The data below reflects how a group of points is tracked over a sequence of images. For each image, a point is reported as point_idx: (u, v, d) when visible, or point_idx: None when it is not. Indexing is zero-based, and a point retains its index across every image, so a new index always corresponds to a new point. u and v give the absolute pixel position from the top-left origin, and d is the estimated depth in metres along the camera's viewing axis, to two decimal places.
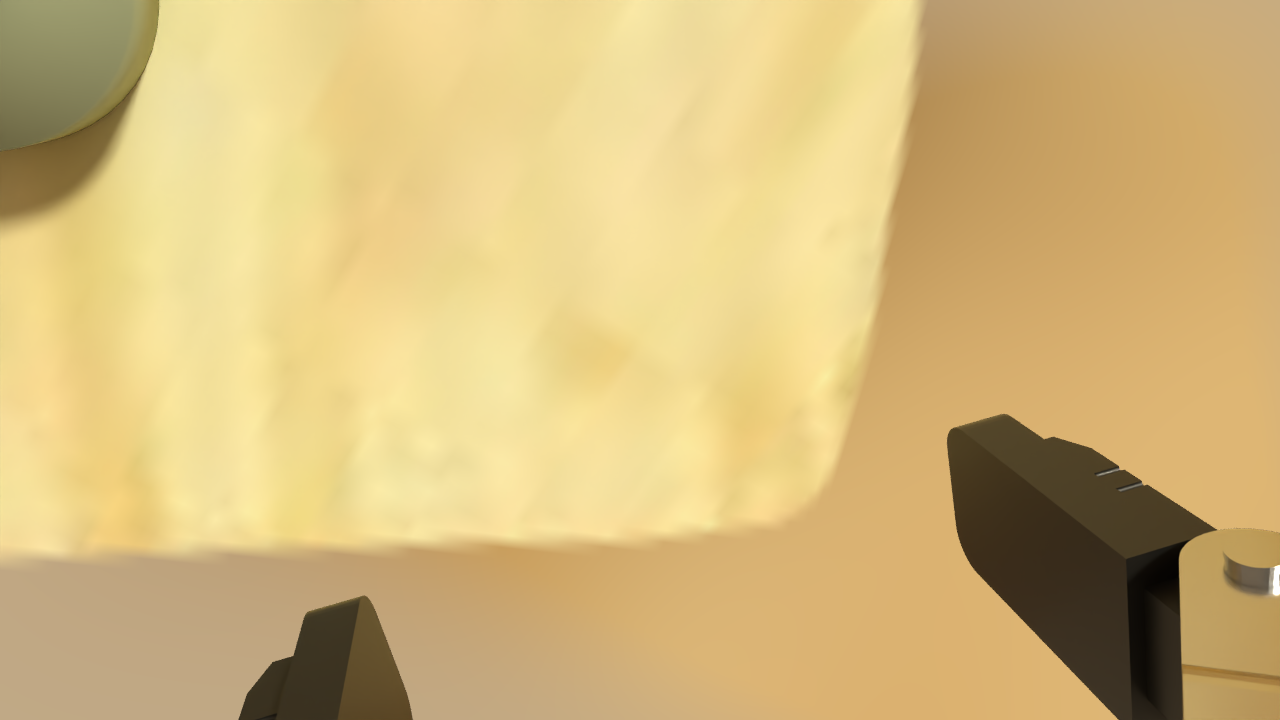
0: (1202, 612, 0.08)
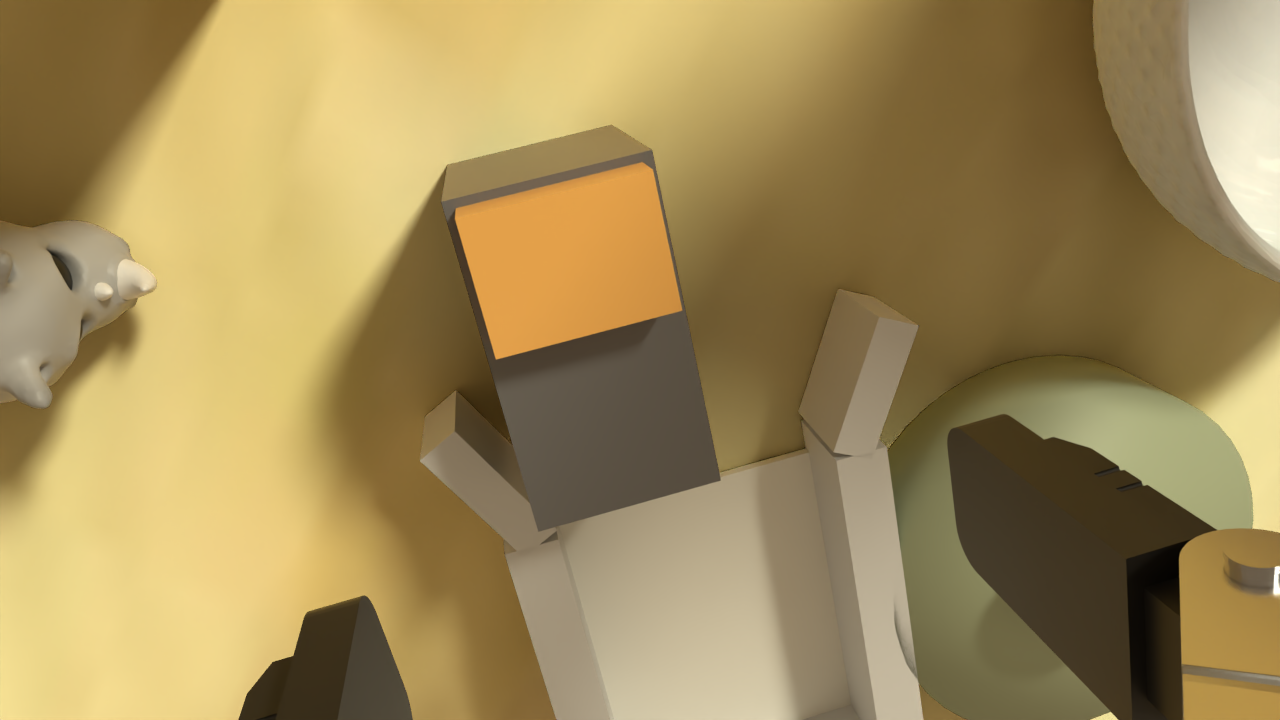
0: (1202, 612, 0.08)
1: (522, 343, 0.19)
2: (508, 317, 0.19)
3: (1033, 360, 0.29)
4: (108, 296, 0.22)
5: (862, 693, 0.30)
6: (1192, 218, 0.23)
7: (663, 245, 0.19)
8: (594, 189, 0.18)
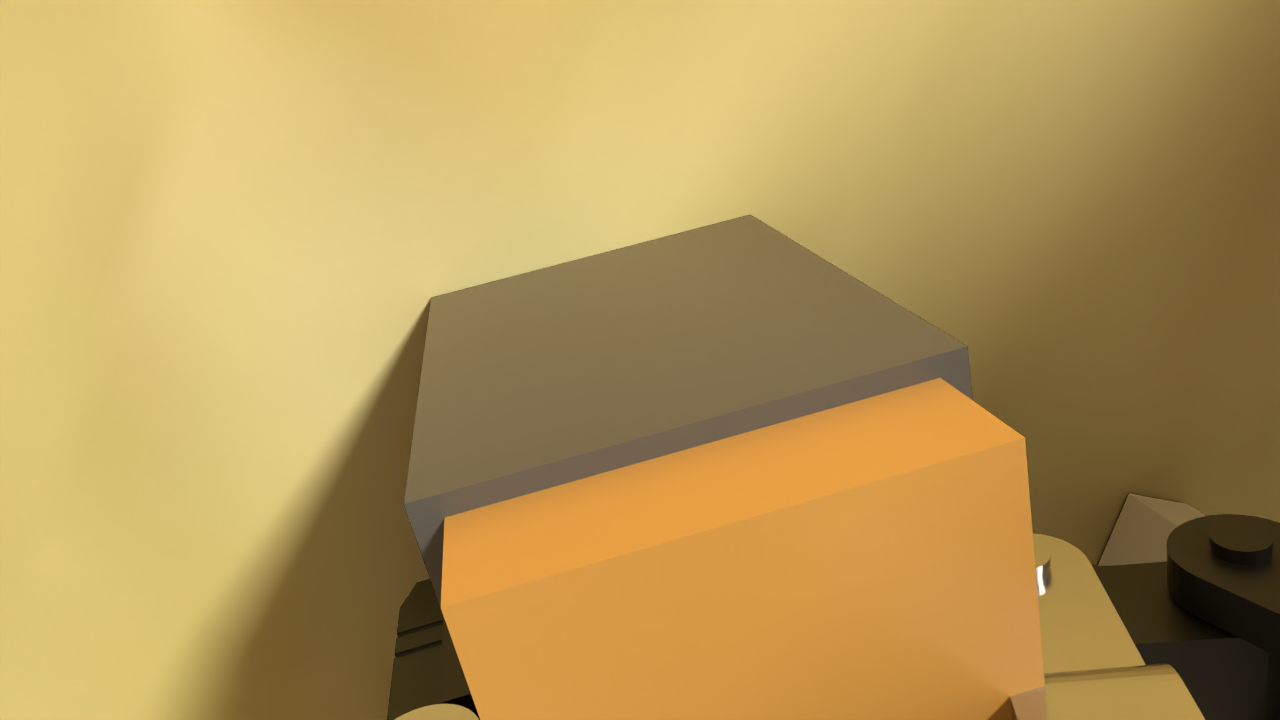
0: None
1: None
2: None
3: None
4: None
5: None
6: None
7: (1024, 626, 0.07)
8: (855, 501, 0.06)
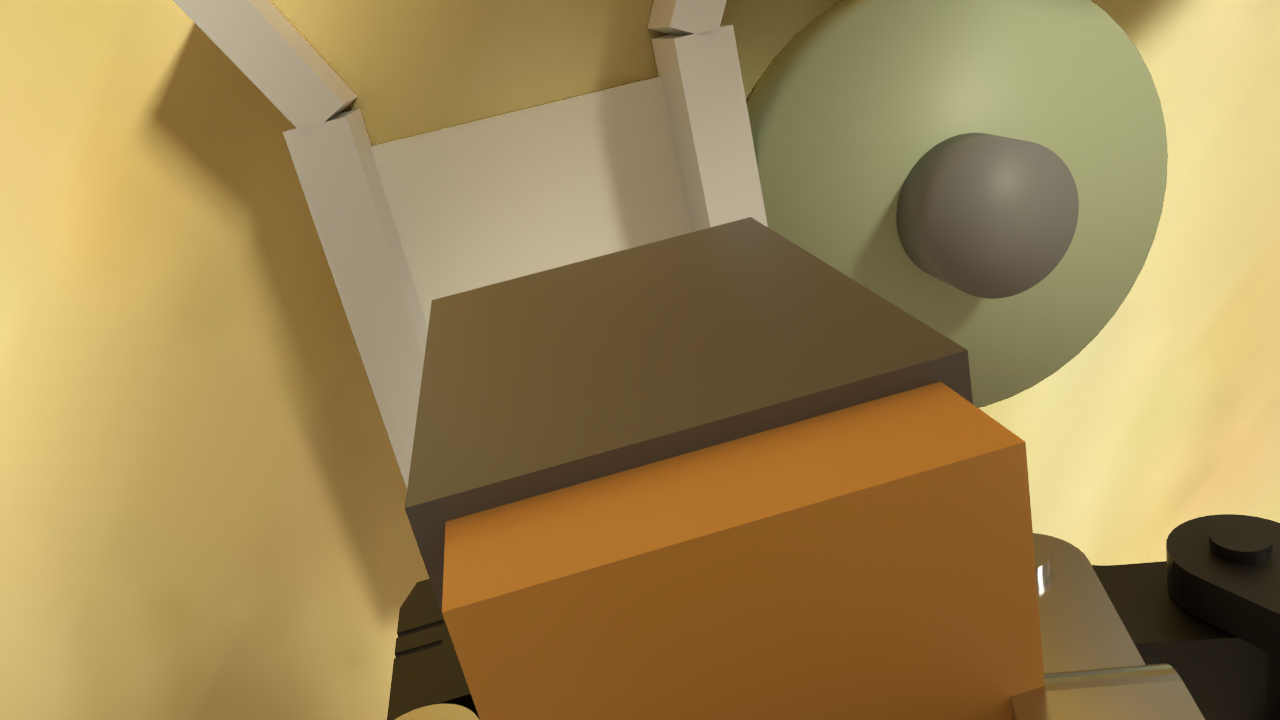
0: None
1: None
2: None
3: None
4: None
5: None
6: None
7: (1024, 630, 0.07)
8: (855, 506, 0.06)
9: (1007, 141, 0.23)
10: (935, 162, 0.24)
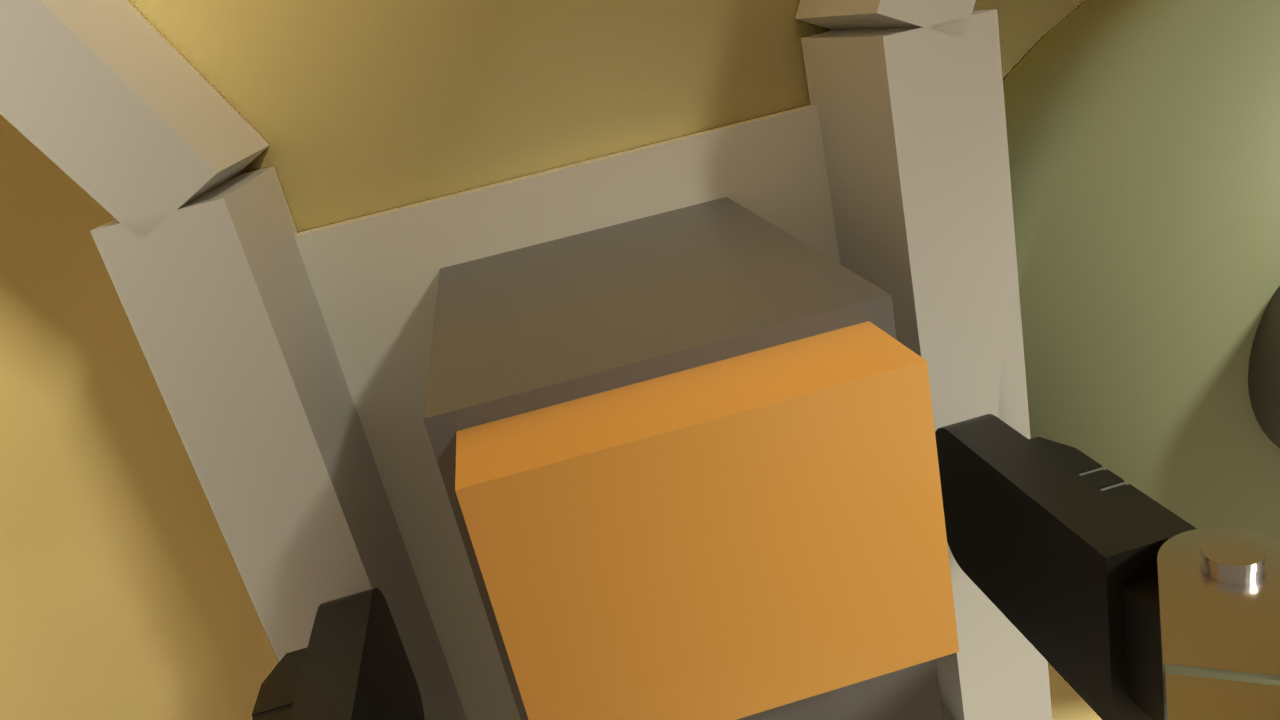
0: (1178, 610, 0.08)
1: None
2: (578, 691, 0.08)
3: None
4: None
5: None
6: None
7: (932, 522, 0.08)
8: (789, 411, 0.08)
9: None
10: None
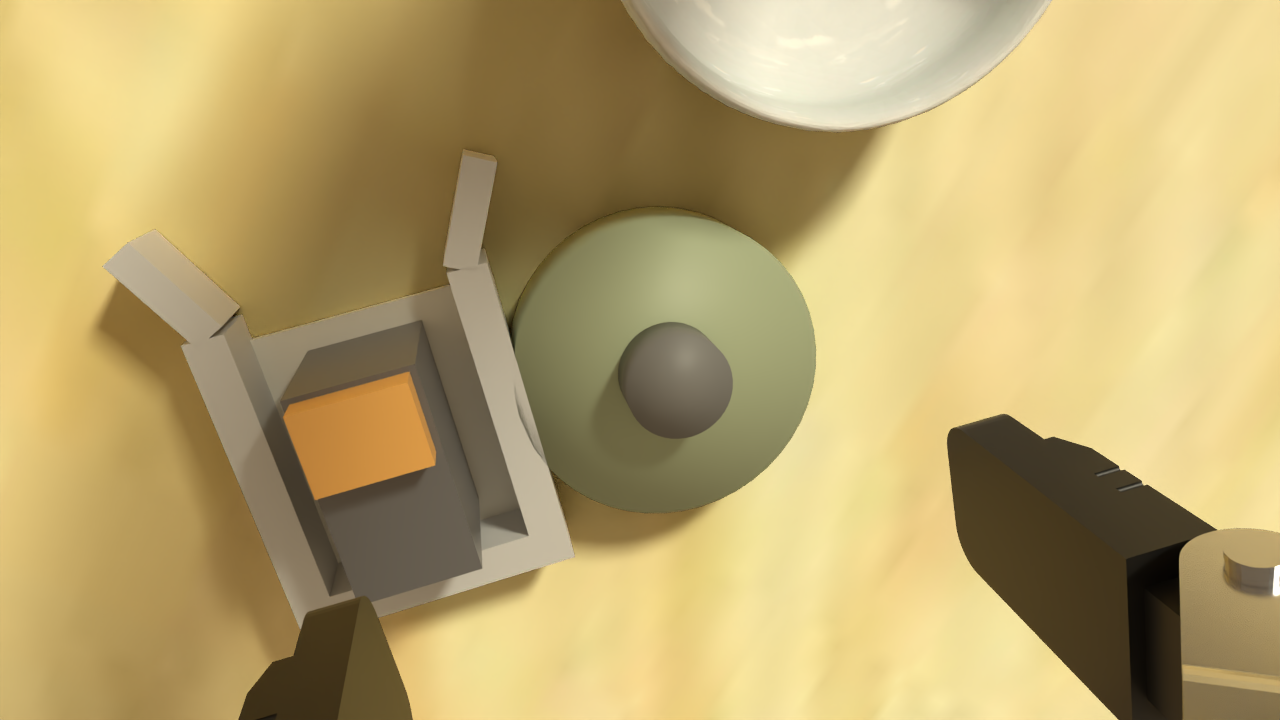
0: (1202, 612, 0.08)
1: (331, 489, 0.30)
2: (321, 474, 0.30)
3: (635, 209, 0.37)
4: None
5: None
6: (672, 65, 0.31)
7: (419, 426, 0.30)
8: (370, 396, 0.30)
9: (674, 336, 0.34)
10: (634, 346, 0.35)
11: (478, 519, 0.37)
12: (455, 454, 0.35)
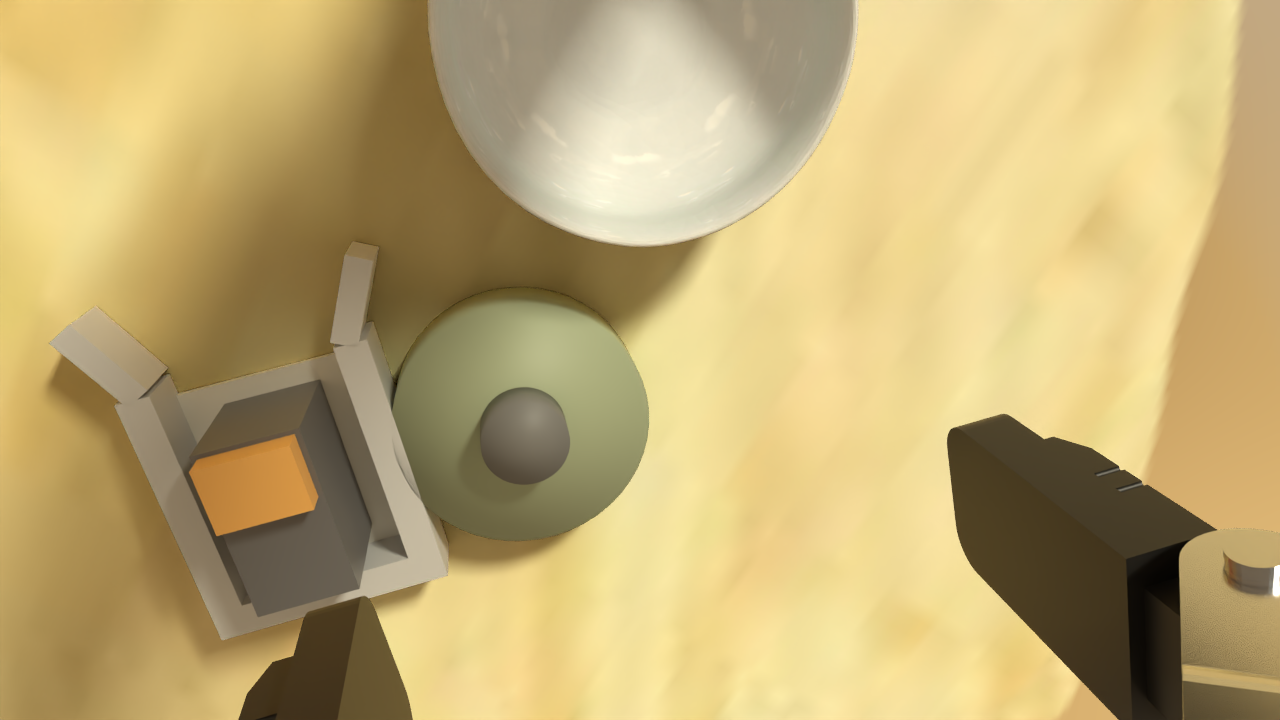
0: (1202, 612, 0.08)
1: (229, 528, 0.38)
2: (221, 516, 0.38)
3: (500, 290, 0.44)
4: None
5: None
6: None
7: (300, 479, 0.38)
8: (259, 456, 0.37)
9: (519, 403, 0.41)
10: (490, 408, 0.42)
11: (365, 544, 0.45)
12: (343, 493, 0.43)
